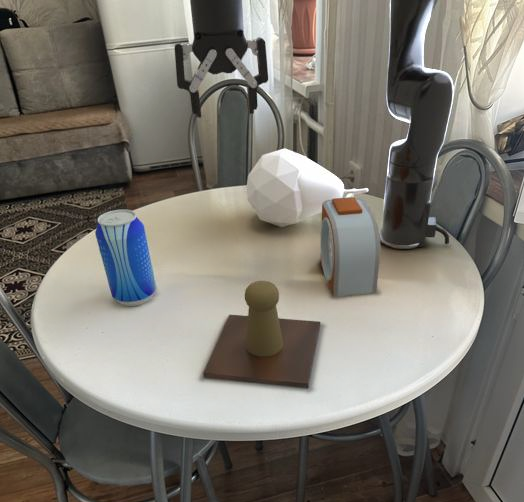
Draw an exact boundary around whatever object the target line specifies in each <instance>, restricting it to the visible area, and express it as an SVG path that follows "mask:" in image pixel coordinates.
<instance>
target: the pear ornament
mask: <svg viewBox="0 0 524 502" xmlns="http://www.w3.org/2000/svg"><path fill="white" fill-rule="evenodd" d="M368 192H369V188H368V187H365V188H359V189H358V188H351V189H345V185H344V182H342V180H341V179H340V178H339V177H337V176H336V175H335V174H334V173H332V172H330V171H329V170H327V169H326V168H325V167H323V166H321V165H320V164H318V163H316V162H315V161H313V160H311V159H310V158H308V157H307V156H305V155H302V154H300V153H298V152H296V151H292V150H290V149H288V148H286V147H285V148H281V149H278V150H274V151H271V152H268V153H264V154H262V155H261V156H260V158H259V159H258V161H257V162H256V164H255V165H254V167H252V169H251V171H250V172H249V173H248V175H247V181H246V198H247V202H248V203H249V204H250V206H251V208H252V209H253V210H254V212H255V214H256V216H258V218H259V220H260V221H263V222H266V223H268V224H271V225H274V226H277V227H280V228H284V227H287V226H291V225H295V224H297V223H300V222H302V221H305V220H307V219H309V218H311V217H314V216H316V215H318V214H320V213H322V203H323V202H324V201H326V200H331V199H335V198H344V195H346V196H345V198H348V197H354V195H356V194H365V193H368Z"/></svg>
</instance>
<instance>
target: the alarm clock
mask: <svg viewBox="0 0 524 502" xmlns="http://www.w3.org/2000/svg"><path fill="white" fill-rule="evenodd" d="M320 225H321V226H320V262H319V263H320V265H321V268H322V271H323V274H324V277H325V280H326V281H327V284H328V286H329V289H330V292H331V294H332V296H333V298H334V297H345V296H346V297H347V296H358V295H370V294H376V293H377V289H378V282H379V271H380V262H381V241H380V230H379V224H378V220H377V218H376V216H375V214H374V212H373V211H372V209H371V208H370V206H369V205H368V204H367V202H366V200H365V199H363V198H360V197H354V196H353V197H348V198H346V197H342V198H335V199H331V200H326V201H324V202H323V203H322V212H321V224H320Z"/></svg>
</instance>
